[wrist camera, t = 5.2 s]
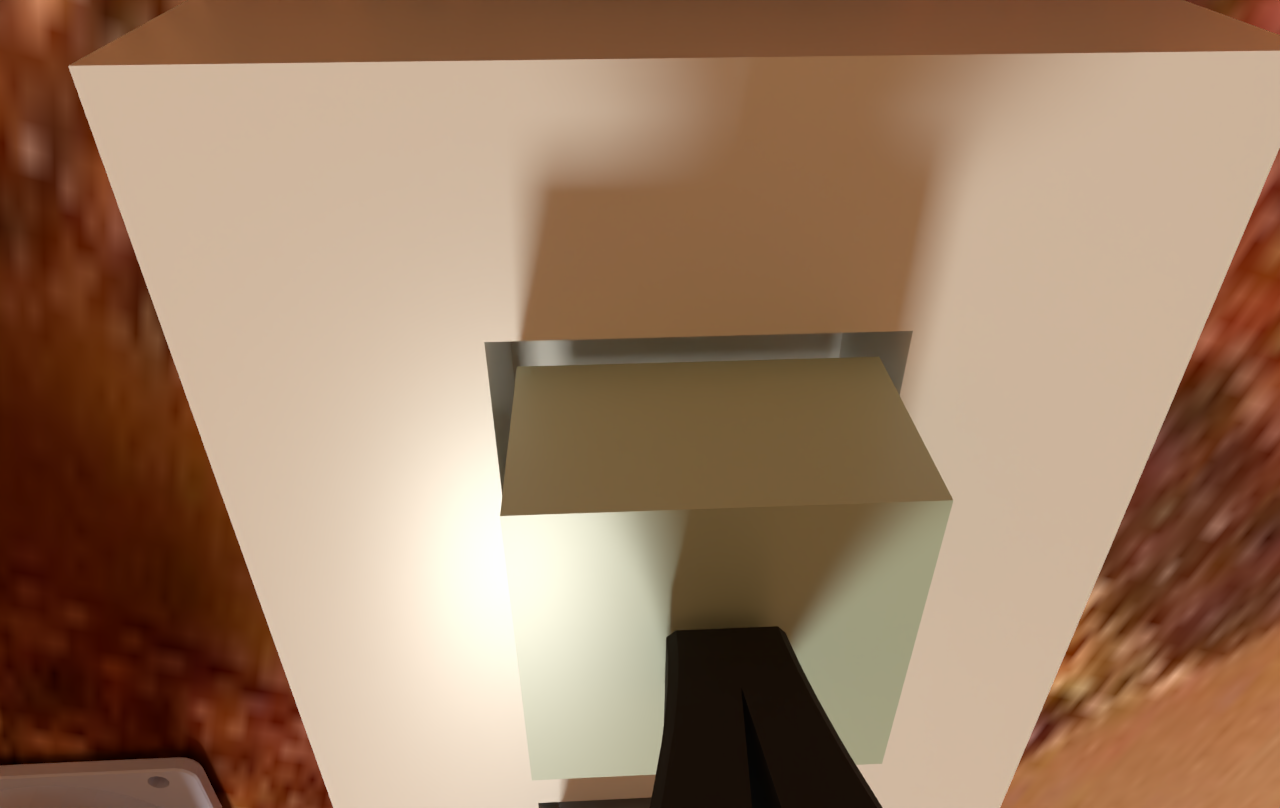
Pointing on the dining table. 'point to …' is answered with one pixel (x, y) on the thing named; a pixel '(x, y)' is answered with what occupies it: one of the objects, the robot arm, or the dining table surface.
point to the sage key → (710, 541)
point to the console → (669, 304)
